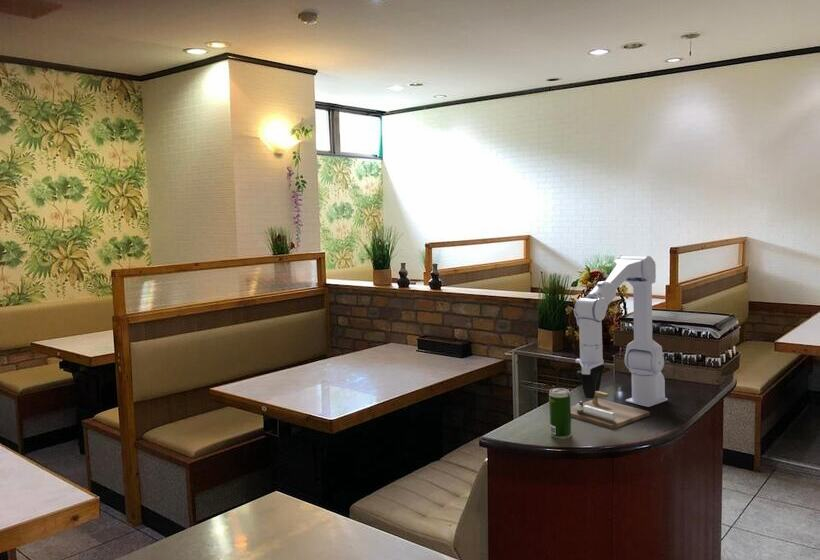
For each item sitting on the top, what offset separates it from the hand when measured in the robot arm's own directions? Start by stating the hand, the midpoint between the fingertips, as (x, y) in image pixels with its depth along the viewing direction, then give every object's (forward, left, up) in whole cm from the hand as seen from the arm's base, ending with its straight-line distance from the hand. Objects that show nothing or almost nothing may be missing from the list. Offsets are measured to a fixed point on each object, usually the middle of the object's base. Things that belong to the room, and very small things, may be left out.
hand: (592, 394), depth 172 cm
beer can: (+10, -2, -10) cm, 14 cm away
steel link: (-6, -4, -8) cm, 11 cm away
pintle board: (-11, -5, -9) cm, 16 cm away
